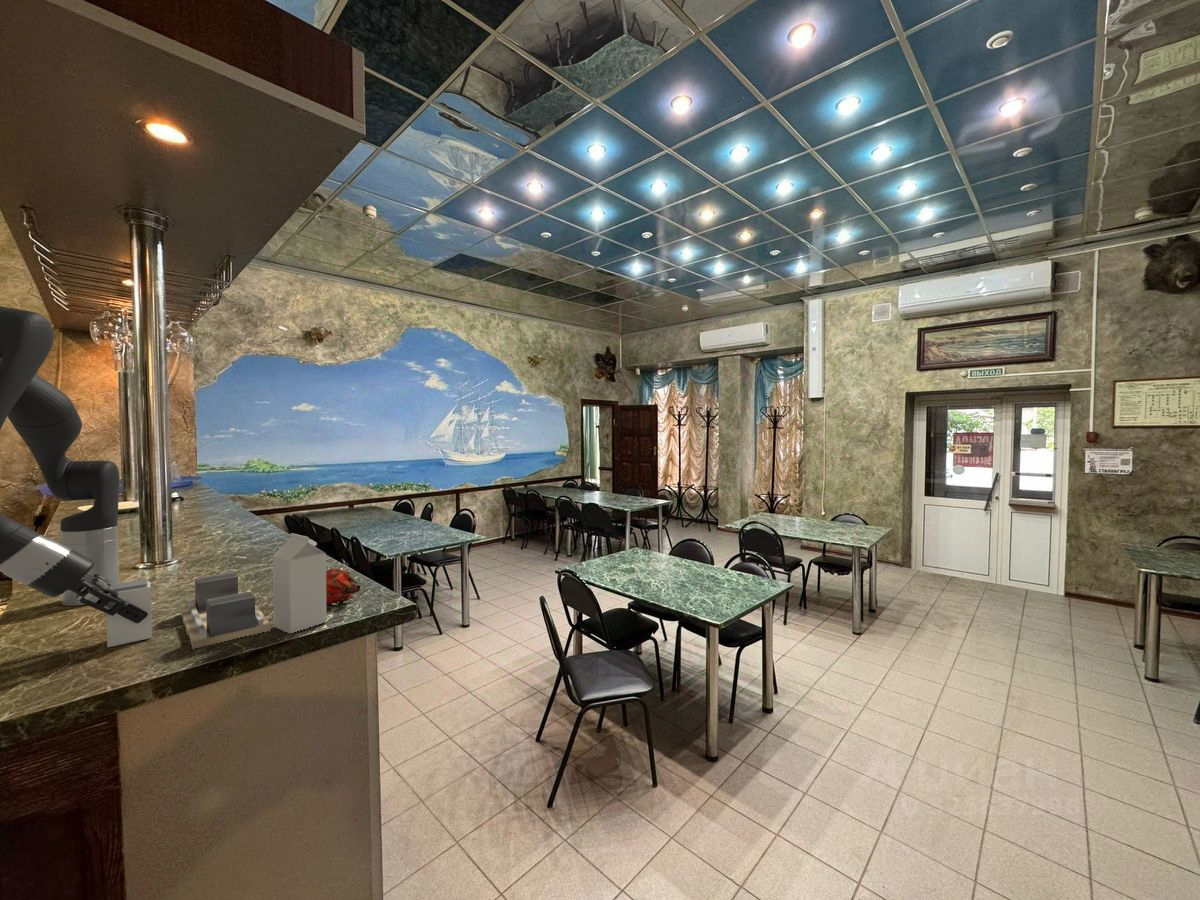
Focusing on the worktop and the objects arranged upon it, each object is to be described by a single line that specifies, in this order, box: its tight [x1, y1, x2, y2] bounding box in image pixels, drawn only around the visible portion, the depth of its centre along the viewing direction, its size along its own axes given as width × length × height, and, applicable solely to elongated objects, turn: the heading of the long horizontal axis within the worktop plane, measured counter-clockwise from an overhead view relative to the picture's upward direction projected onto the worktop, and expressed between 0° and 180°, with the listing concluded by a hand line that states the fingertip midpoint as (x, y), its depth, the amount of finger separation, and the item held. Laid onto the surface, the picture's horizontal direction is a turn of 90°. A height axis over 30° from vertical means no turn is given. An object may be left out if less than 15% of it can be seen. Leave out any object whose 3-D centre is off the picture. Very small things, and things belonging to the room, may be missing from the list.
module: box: [105, 578, 153, 648], centre depth 91 cm, size 5×6×11 cm
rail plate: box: [179, 571, 272, 650], centre depth 100 cm, size 24×12×8 cm, turn 46°
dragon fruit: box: [326, 567, 361, 605], centre depth 112 cm, size 8×8×12 cm
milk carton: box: [272, 532, 327, 635], centre depth 98 cm, size 7×7×19 cm
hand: (142, 614), depth 92 cm, fingers closed on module, 5 cm apart
